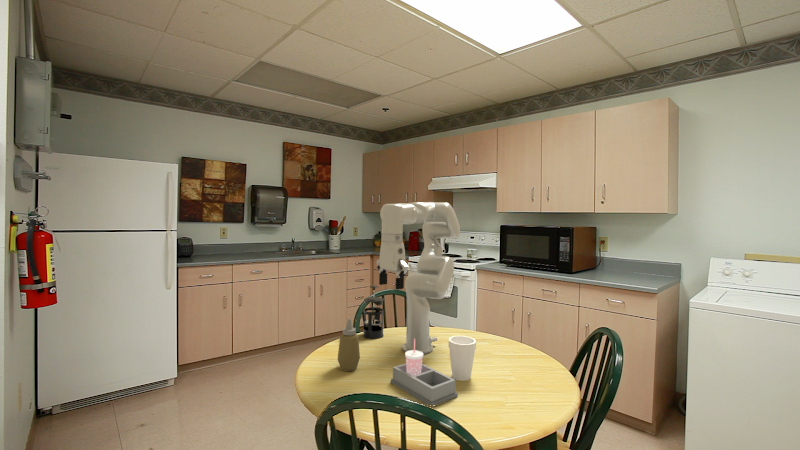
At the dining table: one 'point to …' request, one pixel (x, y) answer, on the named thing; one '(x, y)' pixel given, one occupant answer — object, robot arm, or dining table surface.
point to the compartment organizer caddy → (425, 384)
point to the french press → (373, 324)
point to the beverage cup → (413, 361)
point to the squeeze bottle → (349, 348)
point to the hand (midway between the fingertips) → (391, 286)
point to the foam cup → (462, 356)
